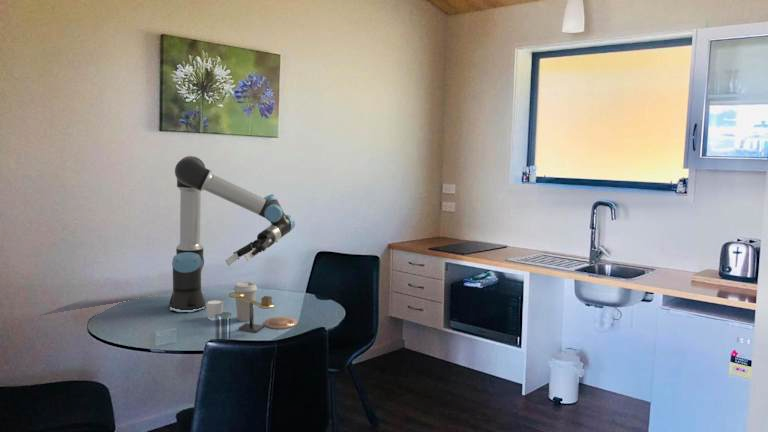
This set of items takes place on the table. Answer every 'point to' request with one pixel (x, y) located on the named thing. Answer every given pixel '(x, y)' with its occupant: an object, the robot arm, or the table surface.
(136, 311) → the table surface
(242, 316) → the coffee cup
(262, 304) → the balance
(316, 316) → the table surface
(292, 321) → the dish
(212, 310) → the shot glass
